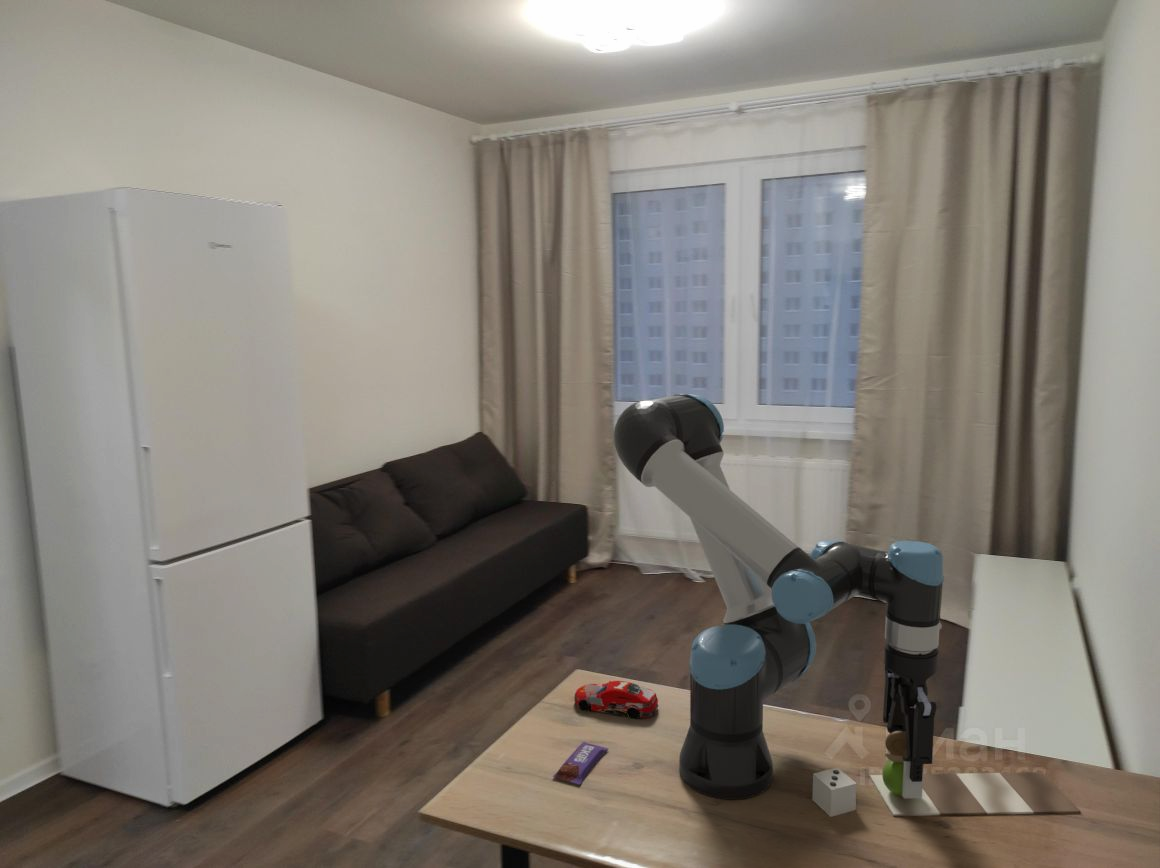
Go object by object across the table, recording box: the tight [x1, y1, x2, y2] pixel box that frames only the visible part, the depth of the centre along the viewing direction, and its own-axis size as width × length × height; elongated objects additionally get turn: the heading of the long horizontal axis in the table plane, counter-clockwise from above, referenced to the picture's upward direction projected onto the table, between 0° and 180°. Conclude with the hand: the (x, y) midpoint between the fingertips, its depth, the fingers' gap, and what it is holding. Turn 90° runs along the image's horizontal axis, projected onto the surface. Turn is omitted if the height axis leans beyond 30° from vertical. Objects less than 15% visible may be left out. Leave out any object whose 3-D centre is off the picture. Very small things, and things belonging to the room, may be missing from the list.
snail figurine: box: [881, 731, 907, 796], centre depth 124 cm, size 5×6×12 cm
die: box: [811, 767, 857, 818], centre depth 123 cm, size 4×4×5 cm
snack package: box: [552, 741, 609, 785], centre depth 135 cm, size 12×2×5 cm
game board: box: [869, 771, 1081, 817], centre depth 125 cm, size 28×10×1 cm, turn 90°
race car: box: [573, 680, 659, 720], centre depth 153 cm, size 16×7×5 cm, turn 69°
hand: (903, 784), depth 125 cm, fingers closed on snail figurine, 5 cm apart
